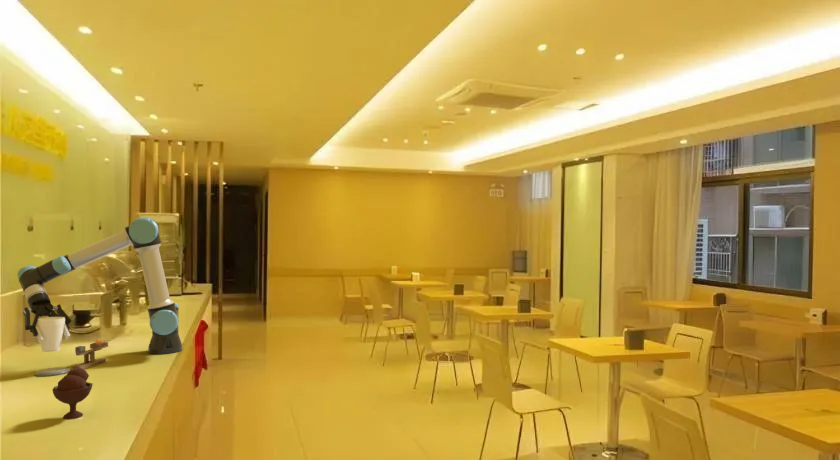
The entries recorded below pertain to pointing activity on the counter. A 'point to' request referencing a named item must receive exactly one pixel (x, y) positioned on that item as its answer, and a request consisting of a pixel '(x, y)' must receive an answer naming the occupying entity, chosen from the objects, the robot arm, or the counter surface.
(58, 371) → the coaster
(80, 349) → the catapult
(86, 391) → the ice cream bowl
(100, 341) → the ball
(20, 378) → the counter surface
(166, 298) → the robot arm
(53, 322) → the foam cup
